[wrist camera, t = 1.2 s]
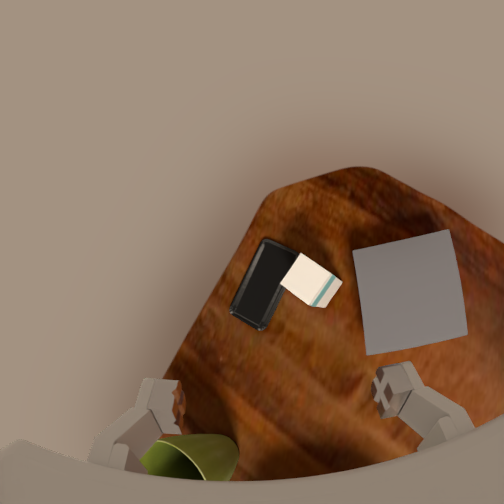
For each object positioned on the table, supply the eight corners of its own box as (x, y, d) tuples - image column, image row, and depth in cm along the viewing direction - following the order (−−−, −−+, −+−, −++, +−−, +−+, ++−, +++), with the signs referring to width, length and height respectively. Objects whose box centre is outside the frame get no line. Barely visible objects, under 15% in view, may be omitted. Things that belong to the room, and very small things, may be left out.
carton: (343, 282, 46) (331, 273, 37) (324, 308, 47) (308, 305, 38) (318, 265, 49) (300, 252, 40) (300, 290, 49) (279, 283, 40)
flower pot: (264, 483, 43) (219, 524, 29) (201, 477, 48) (150, 506, 35) (249, 416, 48) (197, 444, 34) (186, 417, 53) (128, 435, 39)
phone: (227, 312, 53) (263, 236, 53) (230, 312, 54) (265, 238, 54) (262, 333, 50) (301, 253, 50) (265, 333, 51) (303, 254, 51)
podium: (443, 238, 40) (448, 229, 36) (459, 333, 36) (467, 334, 31) (356, 257, 46) (352, 250, 42) (368, 351, 42) (366, 355, 37)
